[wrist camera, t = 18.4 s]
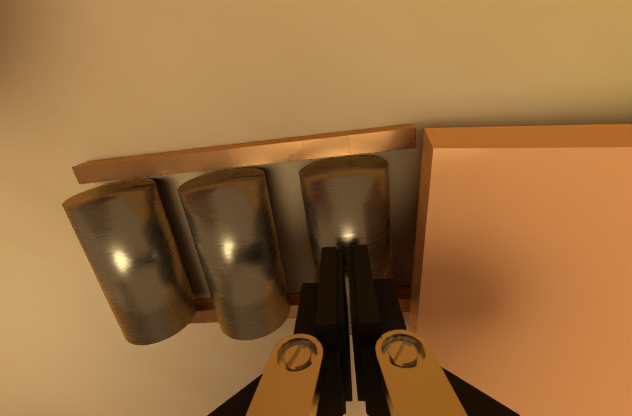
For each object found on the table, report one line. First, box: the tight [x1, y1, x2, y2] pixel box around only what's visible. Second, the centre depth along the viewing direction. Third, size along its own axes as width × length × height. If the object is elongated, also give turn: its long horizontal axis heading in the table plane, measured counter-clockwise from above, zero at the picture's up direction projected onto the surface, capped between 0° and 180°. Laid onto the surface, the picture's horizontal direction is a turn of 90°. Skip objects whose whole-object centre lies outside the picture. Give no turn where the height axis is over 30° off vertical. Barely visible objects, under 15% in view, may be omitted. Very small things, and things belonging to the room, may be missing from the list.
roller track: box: [62, 124, 416, 345], centre depth 14 cm, size 9×25×4 cm, turn 97°
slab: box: [408, 124, 632, 416], centre depth 11 cm, size 11×13×3 cm
